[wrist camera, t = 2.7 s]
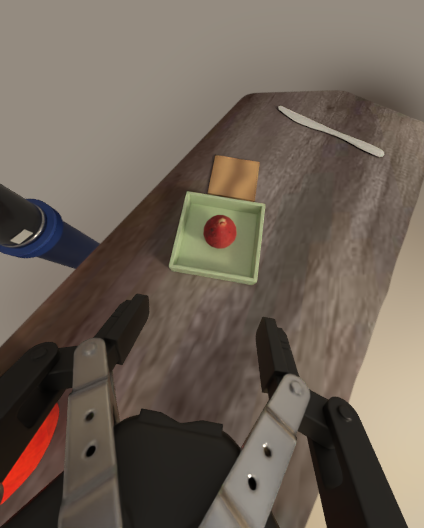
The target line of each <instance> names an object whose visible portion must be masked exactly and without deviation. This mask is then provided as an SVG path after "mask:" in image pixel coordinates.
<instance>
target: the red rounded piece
mask: <svg viewBox="0 0 424 528" xmlns="http://www.w3.org/2000/svg"><path fill="white" fill-rule="evenodd" d="M203 235H204V238H205V240H206V242H207V243H208V244H209V245H210V246H211V247H214V248H217V249H221V248H226V247H228V246H230V245H231V244H232V243H233V242H234V241H235V238H236V235H237V231H236V226H235V224H234V222H233V220H231V219H230V218H229V217H227V216H225V215H216V216H213V217H211V218H210V219H209V220H208V221H207V222H206V224H205V226H204V232H203Z"/></svg>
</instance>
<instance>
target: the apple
mask: <svg viewBox="0 0 424 528" xmlns="http://www.w3.org/2000/svg"><path fill="white" fill-rule="evenodd" d="M58 417H59V407H58V403H56V404H55V406H54V407H53V409H52V410H51V412H50V413H49V415H48V416H47V418H46V419H45V421H44V422H43V424H42V425H41V427H40V428H39V429H38V431H37V432H36V434H35V435H34V437H33V438H32V440H31V441H30V443H29V444H28V446H27V447H26V449H25V450H24V452H23V453H22V455H21V456H20V457H19V459H18V460H17V462H16V463H15V465H14V466H13V468H12V469H11V471H10V472H9V474H8V475H7V477H6V478H5V480H4V481H3V483H2V484H3V487H4V494H3V498H2V502H1V504H2V503H3V502H4V501H6V500H7V499H8V498H9V497H10V496H11V495H12V494H13V493H14V492H15V491H16V490H17V489H18V487H19V486H20V485H21V484H22V483H23V482H24V481H25V480H26V479H27V478H28V476H29V475H30V474H31V473H32V472H33V470H34V469H35V468H36V466H37V465H38V463H39V461H40V460H41V458H42V456H43V454H44V453H45V451H46V449H47V447H48V445H49V444H50V441H51V438H52V436H53V433H54V431H55V428H56V424H57V421H58ZM1 504H0V505H1Z"/></svg>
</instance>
